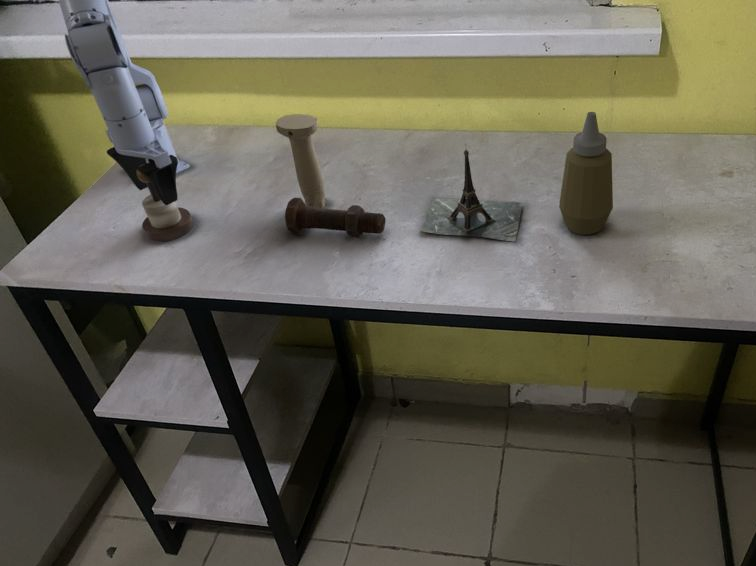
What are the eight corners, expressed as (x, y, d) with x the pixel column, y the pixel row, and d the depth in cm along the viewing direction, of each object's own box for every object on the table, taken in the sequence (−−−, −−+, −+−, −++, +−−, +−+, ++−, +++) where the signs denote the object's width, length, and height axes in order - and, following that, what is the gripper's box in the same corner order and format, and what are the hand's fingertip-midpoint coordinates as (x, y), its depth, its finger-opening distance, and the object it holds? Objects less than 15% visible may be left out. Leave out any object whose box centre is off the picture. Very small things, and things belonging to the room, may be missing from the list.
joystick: (151, 148, 111) (107, 168, 108) (178, 162, 108) (133, 183, 104) (177, 210, 119) (136, 231, 115) (202, 225, 116) (161, 247, 112)
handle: (328, 216, 115) (308, 130, 105) (293, 212, 117) (270, 127, 107) (340, 200, 119) (322, 115, 108) (306, 196, 120) (284, 112, 110)
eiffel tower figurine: (524, 205, 114) (523, 127, 105) (515, 241, 107) (513, 161, 98) (434, 200, 117) (425, 124, 108) (419, 235, 110) (408, 157, 100)
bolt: (384, 246, 111) (294, 238, 113) (390, 217, 112) (301, 210, 115) (375, 230, 105) (281, 222, 108) (381, 200, 107) (288, 192, 109)
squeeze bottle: (615, 214, 110) (626, 103, 98) (605, 243, 105) (615, 130, 93) (565, 207, 113) (569, 98, 100) (552, 236, 107) (555, 124, 95)
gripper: (174, 114, 100) (205, 197, 110) (122, 90, 108) (155, 170, 117) (130, 133, 97) (165, 218, 106) (79, 108, 104) (117, 188, 114)
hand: (157, 194), depth 111 cm, fingers open, 7 cm apart
